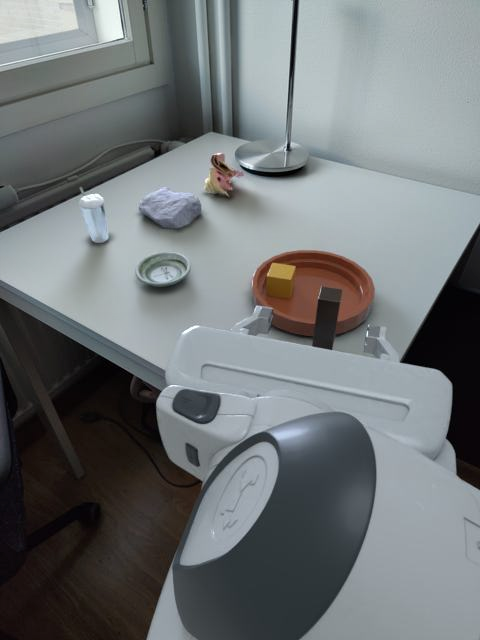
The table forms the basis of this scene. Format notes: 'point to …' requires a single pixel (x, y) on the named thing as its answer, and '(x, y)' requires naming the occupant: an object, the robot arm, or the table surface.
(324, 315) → the dark brown tall block
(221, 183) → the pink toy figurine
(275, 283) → the block
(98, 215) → the milkshake
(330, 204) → the table surface
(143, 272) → the saucer
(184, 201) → the stone block
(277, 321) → the bowl
